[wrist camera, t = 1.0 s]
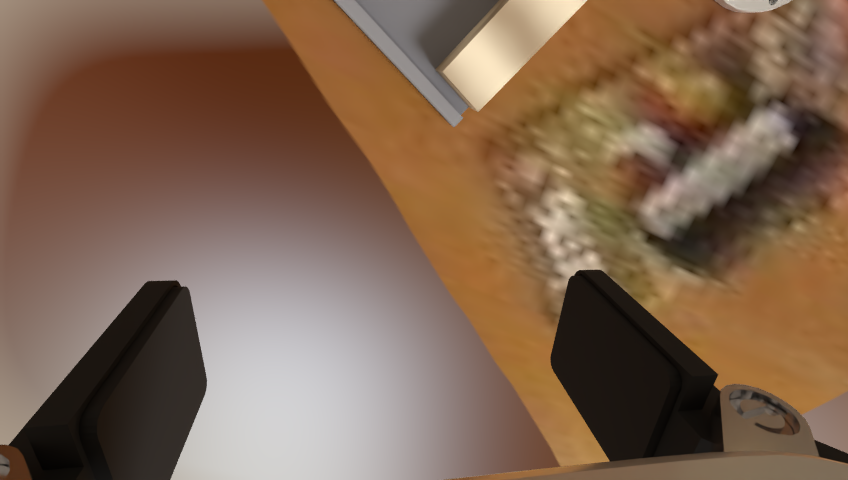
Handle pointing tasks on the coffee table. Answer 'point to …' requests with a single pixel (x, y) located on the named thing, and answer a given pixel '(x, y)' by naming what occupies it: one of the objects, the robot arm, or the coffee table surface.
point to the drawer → (420, 40)
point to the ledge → (502, 46)
